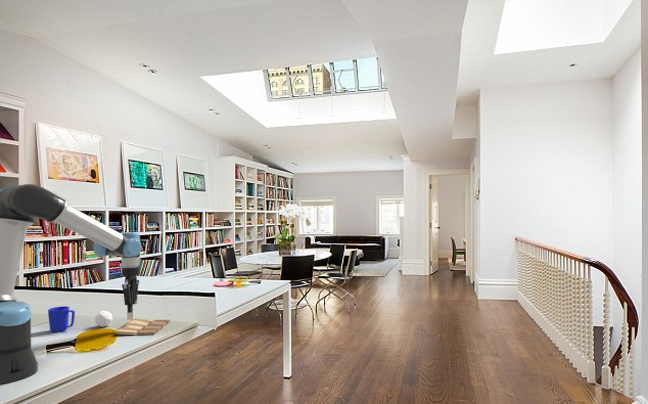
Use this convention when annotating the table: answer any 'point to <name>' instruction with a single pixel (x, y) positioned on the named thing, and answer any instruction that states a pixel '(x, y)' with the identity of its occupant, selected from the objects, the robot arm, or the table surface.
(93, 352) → the table surface
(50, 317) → the mug
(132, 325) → the plank
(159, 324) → the laid strip
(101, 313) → the ornament
